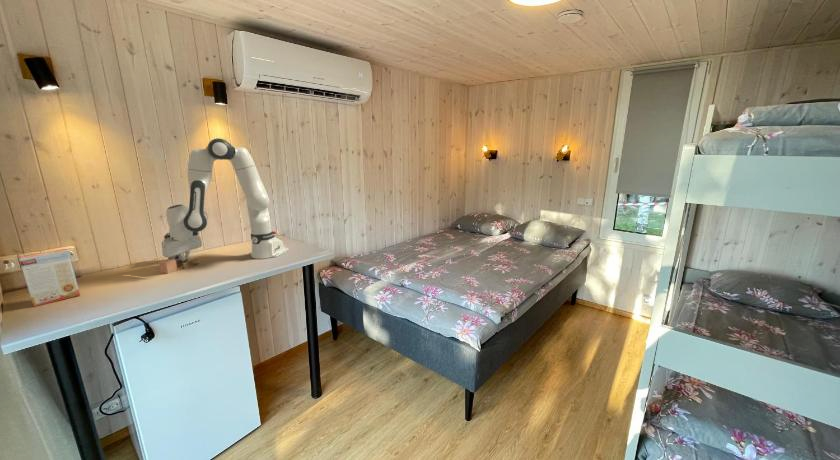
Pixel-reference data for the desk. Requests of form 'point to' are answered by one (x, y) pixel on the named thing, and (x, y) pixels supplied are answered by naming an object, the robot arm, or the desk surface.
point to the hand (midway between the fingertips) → (185, 259)
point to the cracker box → (49, 276)
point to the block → (168, 266)
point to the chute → (186, 263)
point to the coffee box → (174, 255)
